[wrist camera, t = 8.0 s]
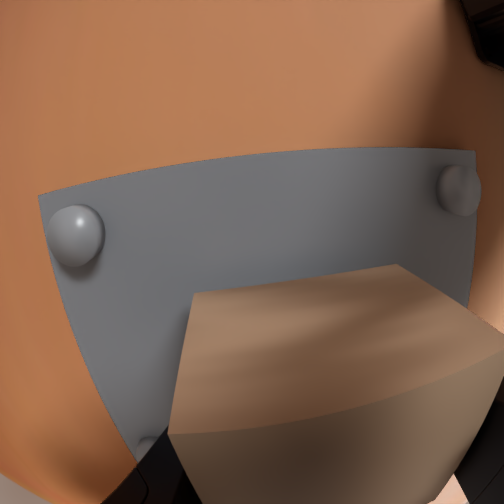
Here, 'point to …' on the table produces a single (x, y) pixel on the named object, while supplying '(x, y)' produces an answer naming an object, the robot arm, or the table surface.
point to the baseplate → (241, 248)
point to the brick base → (331, 390)
